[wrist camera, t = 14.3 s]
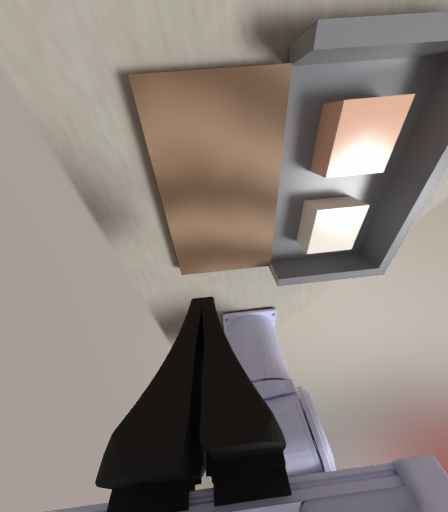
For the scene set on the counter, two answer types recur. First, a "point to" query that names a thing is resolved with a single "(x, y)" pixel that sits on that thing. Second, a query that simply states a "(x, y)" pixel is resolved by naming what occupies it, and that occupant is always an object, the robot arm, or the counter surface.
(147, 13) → the counter surface
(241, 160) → the walnut plate
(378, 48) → the tray
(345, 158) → the terracotta tile
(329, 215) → the cream tile
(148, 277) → the counter surface
